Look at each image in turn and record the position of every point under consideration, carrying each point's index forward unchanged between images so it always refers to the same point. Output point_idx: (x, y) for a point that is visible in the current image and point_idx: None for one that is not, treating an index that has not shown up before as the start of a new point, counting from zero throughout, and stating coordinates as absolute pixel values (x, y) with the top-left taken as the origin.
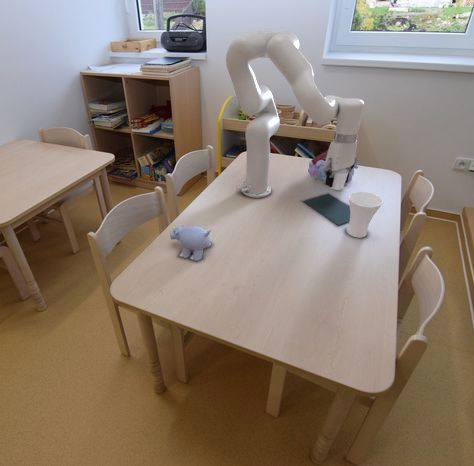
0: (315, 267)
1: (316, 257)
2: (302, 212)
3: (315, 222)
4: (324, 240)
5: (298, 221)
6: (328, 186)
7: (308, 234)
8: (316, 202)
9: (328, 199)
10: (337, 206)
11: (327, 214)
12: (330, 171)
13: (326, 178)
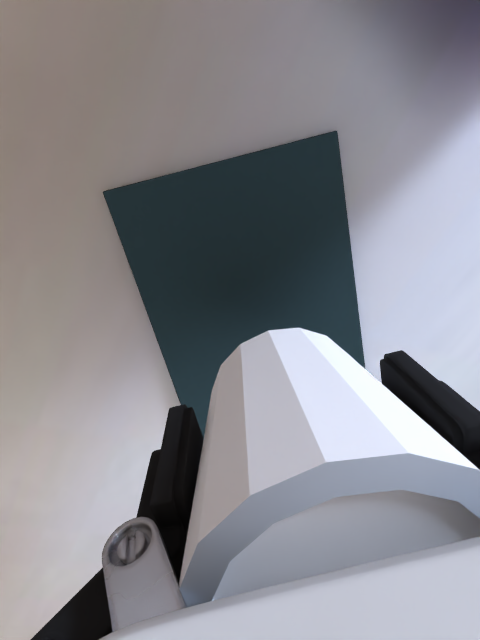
0: (16, 636)
1: (33, 604)
2: (60, 323)
3: (105, 424)
4: (98, 536)
5: (12, 401)
6: (211, 396)
7: (39, 497)
8: (188, 239)
9: (288, 220)
10: (294, 318)
11: (194, 382)
12: (182, 595)
13: (141, 503)
